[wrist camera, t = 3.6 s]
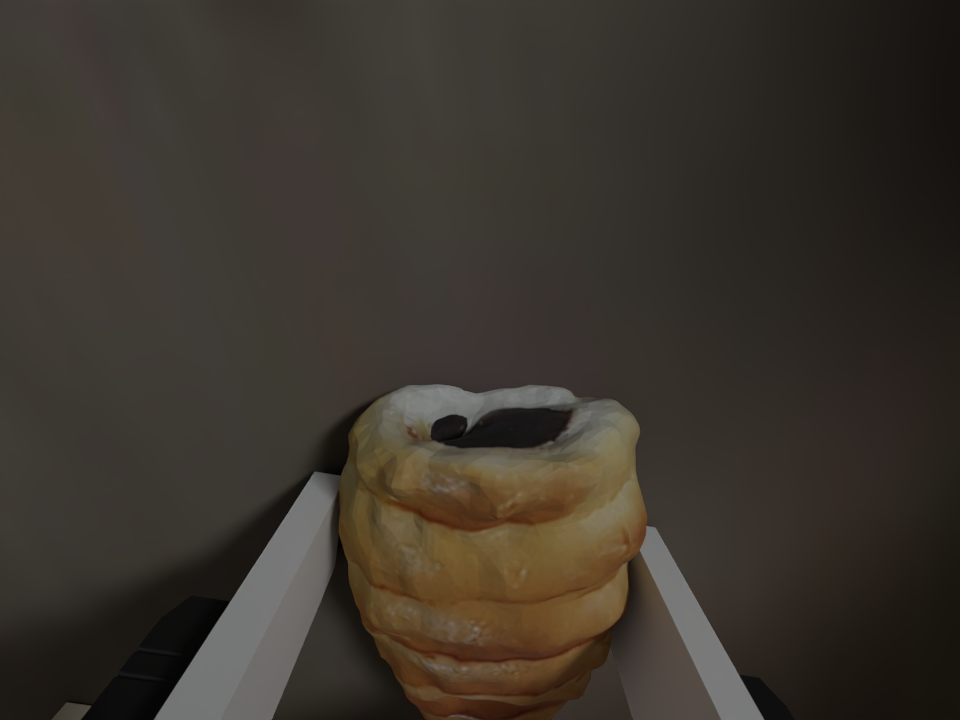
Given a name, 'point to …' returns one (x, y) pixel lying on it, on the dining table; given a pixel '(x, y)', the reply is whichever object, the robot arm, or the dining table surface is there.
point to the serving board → (71, 712)
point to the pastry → (491, 542)
